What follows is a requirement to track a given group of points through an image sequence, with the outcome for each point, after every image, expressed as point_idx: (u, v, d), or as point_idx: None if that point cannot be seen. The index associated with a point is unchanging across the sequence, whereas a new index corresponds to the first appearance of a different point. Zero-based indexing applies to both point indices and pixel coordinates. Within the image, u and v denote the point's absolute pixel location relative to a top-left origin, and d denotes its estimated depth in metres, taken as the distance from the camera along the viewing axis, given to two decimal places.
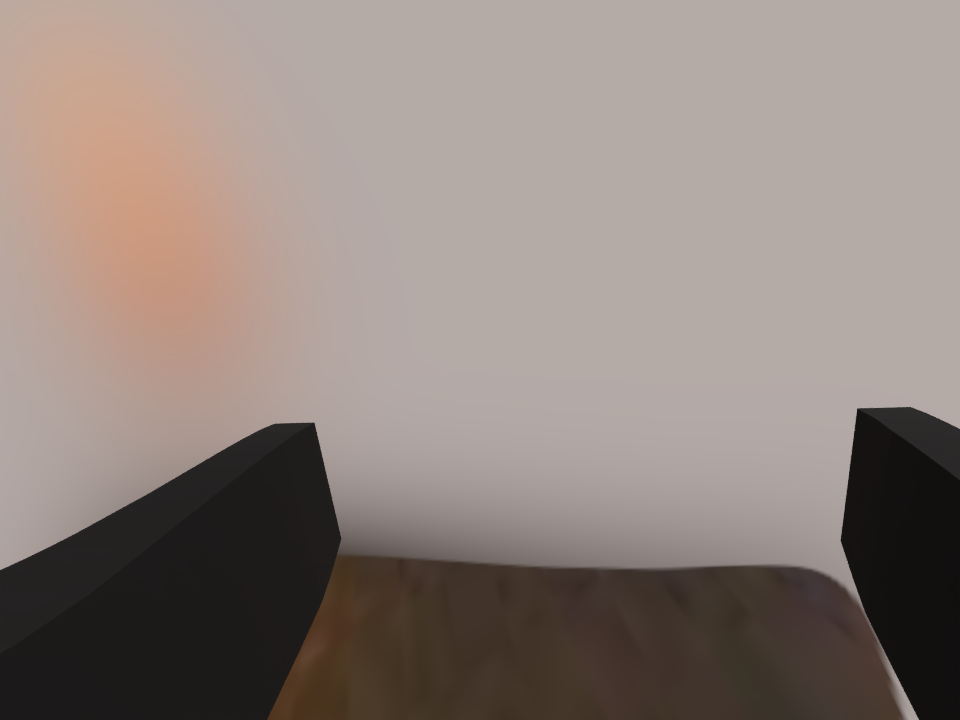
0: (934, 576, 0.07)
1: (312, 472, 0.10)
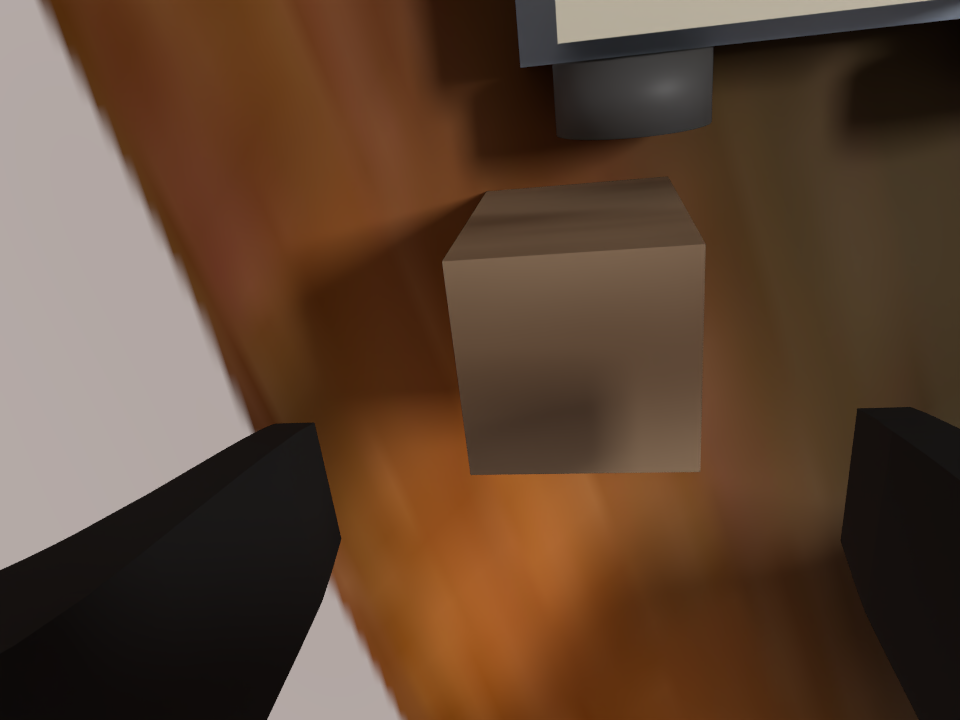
0: (934, 576, 0.07)
1: (311, 472, 0.10)
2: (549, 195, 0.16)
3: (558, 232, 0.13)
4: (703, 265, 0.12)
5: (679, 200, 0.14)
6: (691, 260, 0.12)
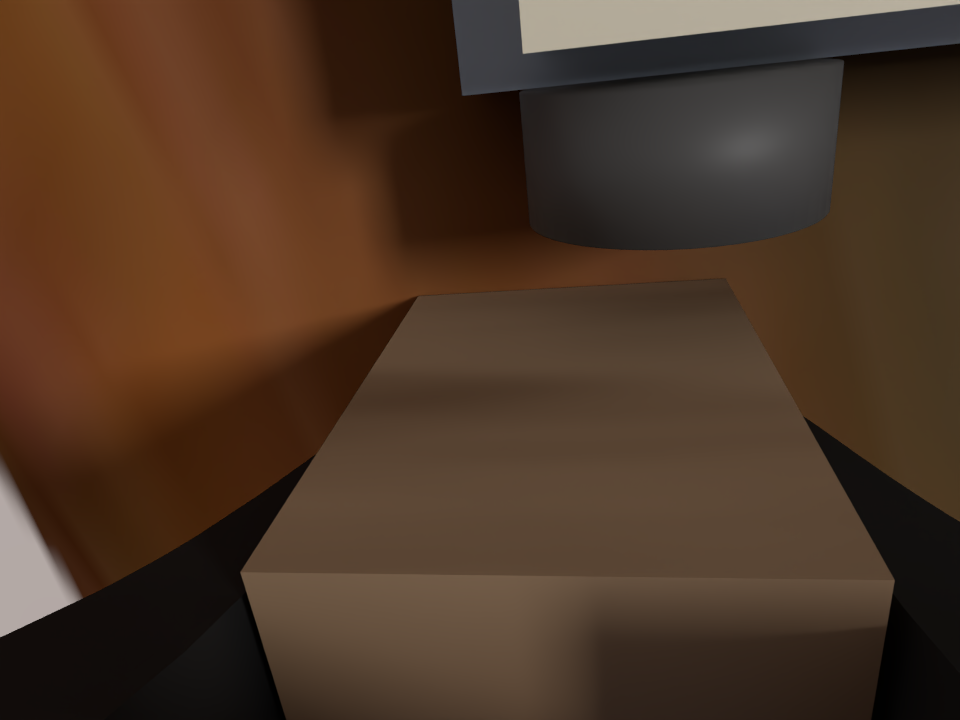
0: None
1: None
2: (520, 318, 0.09)
3: (524, 461, 0.06)
4: (883, 624, 0.05)
5: (767, 358, 0.07)
6: (853, 611, 0.05)
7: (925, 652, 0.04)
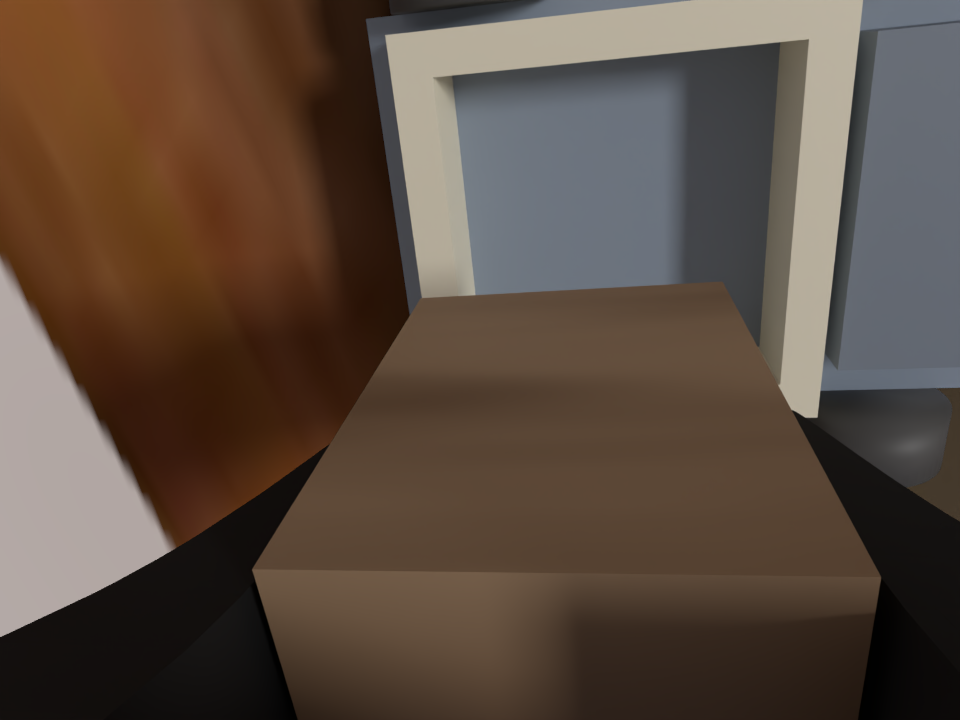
0: None
1: None
2: (520, 320, 0.09)
3: (525, 462, 0.06)
4: (870, 619, 0.05)
5: (762, 361, 0.08)
6: (840, 607, 0.05)
7: (925, 652, 0.04)
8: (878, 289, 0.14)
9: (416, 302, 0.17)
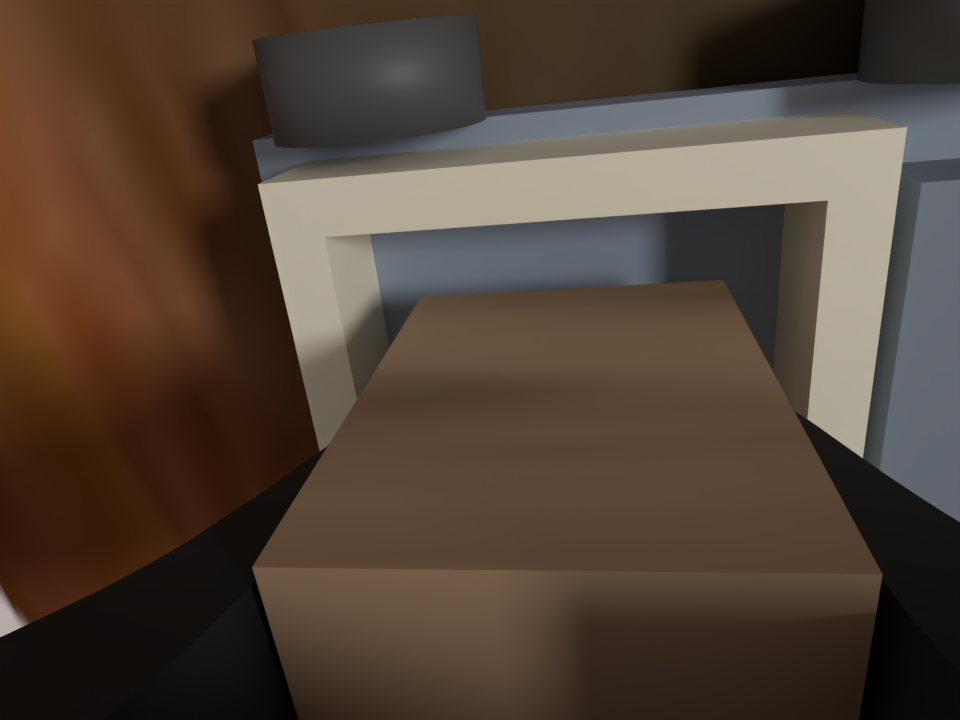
0: None
1: None
2: (521, 319, 0.09)
3: (525, 460, 0.06)
4: (872, 616, 0.05)
5: (762, 359, 0.08)
6: (842, 604, 0.05)
7: (925, 652, 0.04)
8: (917, 493, 0.11)
9: None
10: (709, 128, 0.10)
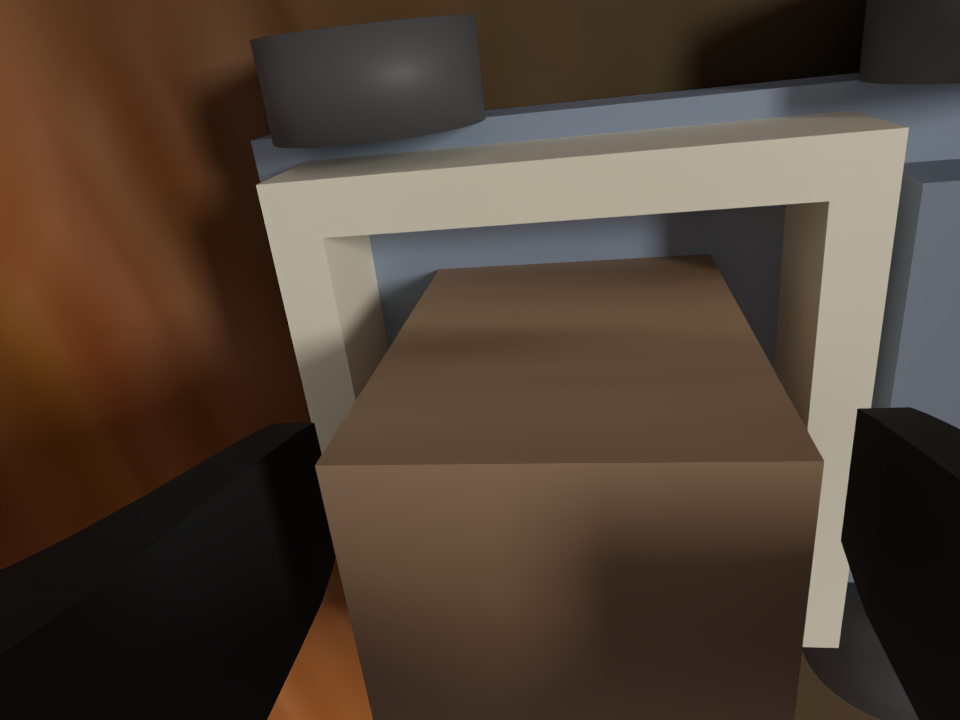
0: (934, 576, 0.07)
1: (311, 472, 0.10)
2: (530, 285, 0.11)
3: (537, 389, 0.07)
4: (817, 498, 0.06)
5: (740, 315, 0.09)
6: (793, 488, 0.06)
7: None
8: None
9: None
10: (710, 128, 0.10)
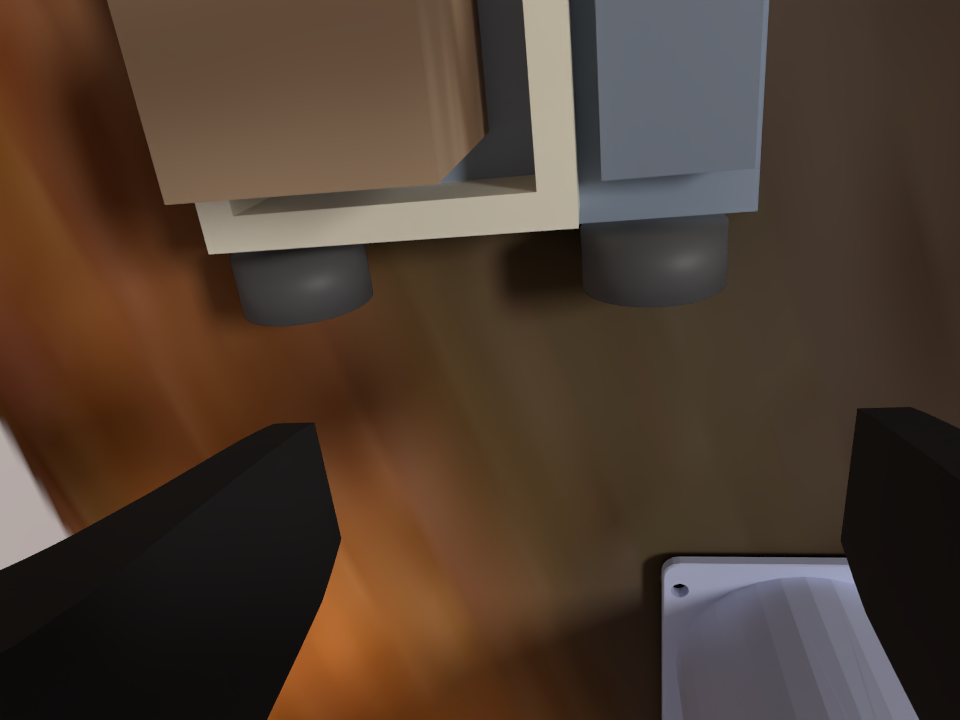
0: (934, 576, 0.07)
1: (311, 472, 0.10)
2: None
3: None
4: None
5: None
6: None
7: None
8: (628, 85, 0.14)
9: None
10: None
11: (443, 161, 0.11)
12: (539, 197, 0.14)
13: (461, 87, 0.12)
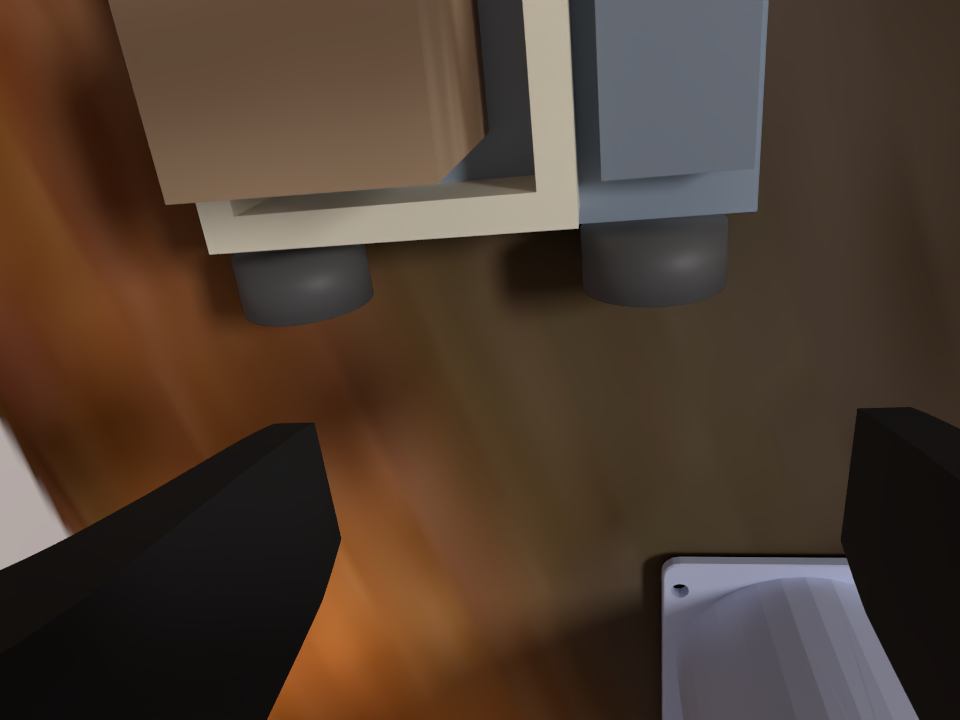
0: (934, 576, 0.07)
1: (311, 472, 0.10)
2: None
3: None
4: None
5: None
6: None
7: None
8: (628, 85, 0.14)
9: None
10: None
11: (443, 161, 0.11)
12: (539, 197, 0.14)
13: (461, 87, 0.13)
